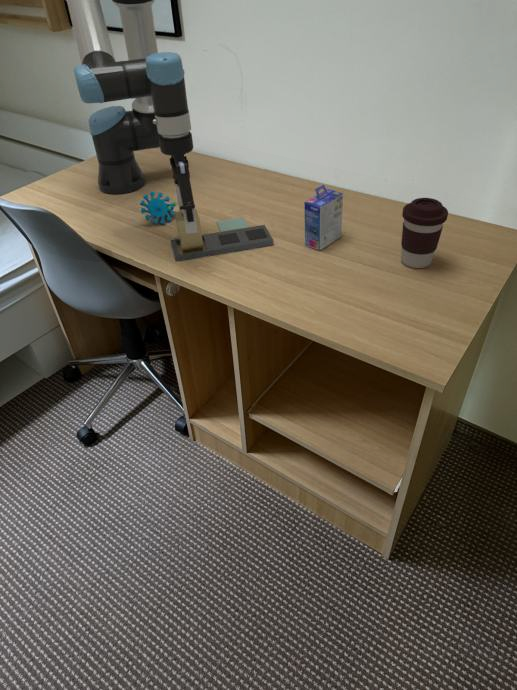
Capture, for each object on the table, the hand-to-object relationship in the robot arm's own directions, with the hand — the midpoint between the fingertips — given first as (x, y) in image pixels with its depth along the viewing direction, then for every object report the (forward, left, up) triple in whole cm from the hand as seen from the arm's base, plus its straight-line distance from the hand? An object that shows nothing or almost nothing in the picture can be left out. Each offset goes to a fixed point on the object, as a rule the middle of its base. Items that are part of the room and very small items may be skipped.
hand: (188, 220), depth 125 cm
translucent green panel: (-9, +13, -9) cm, 18 cm away
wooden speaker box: (0, 0, -9) cm, 9 cm away
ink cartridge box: (+6, +34, -9) cm, 36 cm away
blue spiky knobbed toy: (-21, -6, -9) cm, 24 cm away
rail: (0, +8, -9) cm, 12 cm away
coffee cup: (+23, +52, -9) cm, 58 cm away
